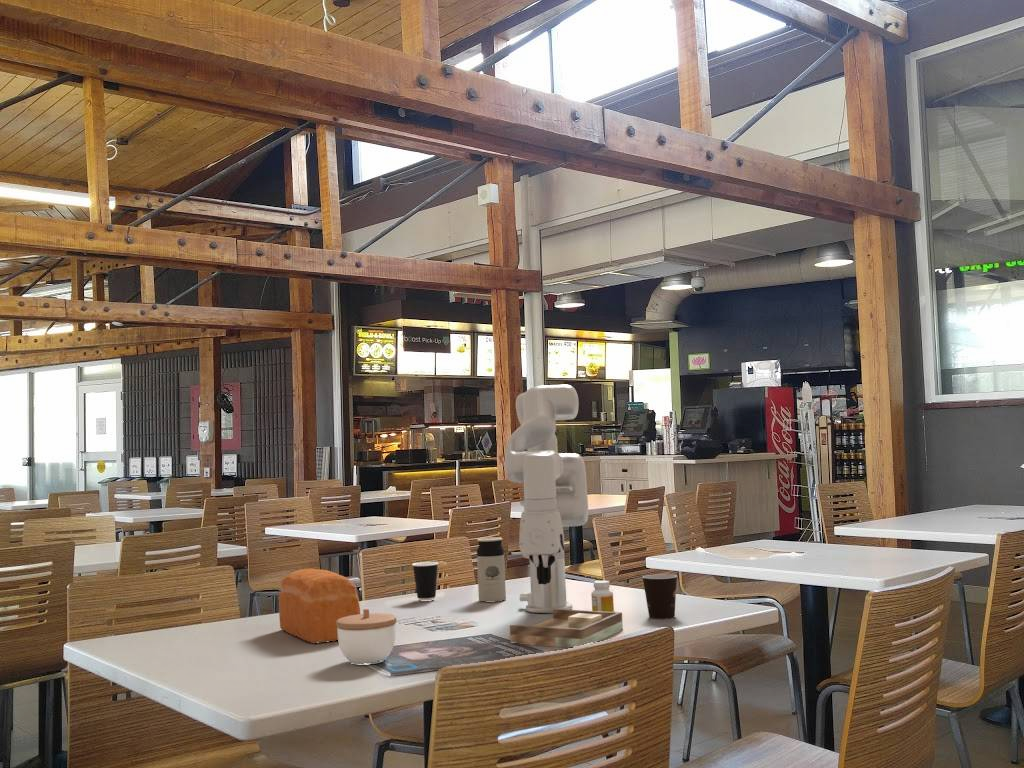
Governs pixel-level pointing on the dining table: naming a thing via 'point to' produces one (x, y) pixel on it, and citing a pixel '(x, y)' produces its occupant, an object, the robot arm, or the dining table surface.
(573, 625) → the maple block
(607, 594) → the supplement bottle
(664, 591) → the coffee mug
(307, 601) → the bread
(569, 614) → the box
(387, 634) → the lidded bowl
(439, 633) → the dining table surface
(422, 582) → the dixie cup
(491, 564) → the travel mug
